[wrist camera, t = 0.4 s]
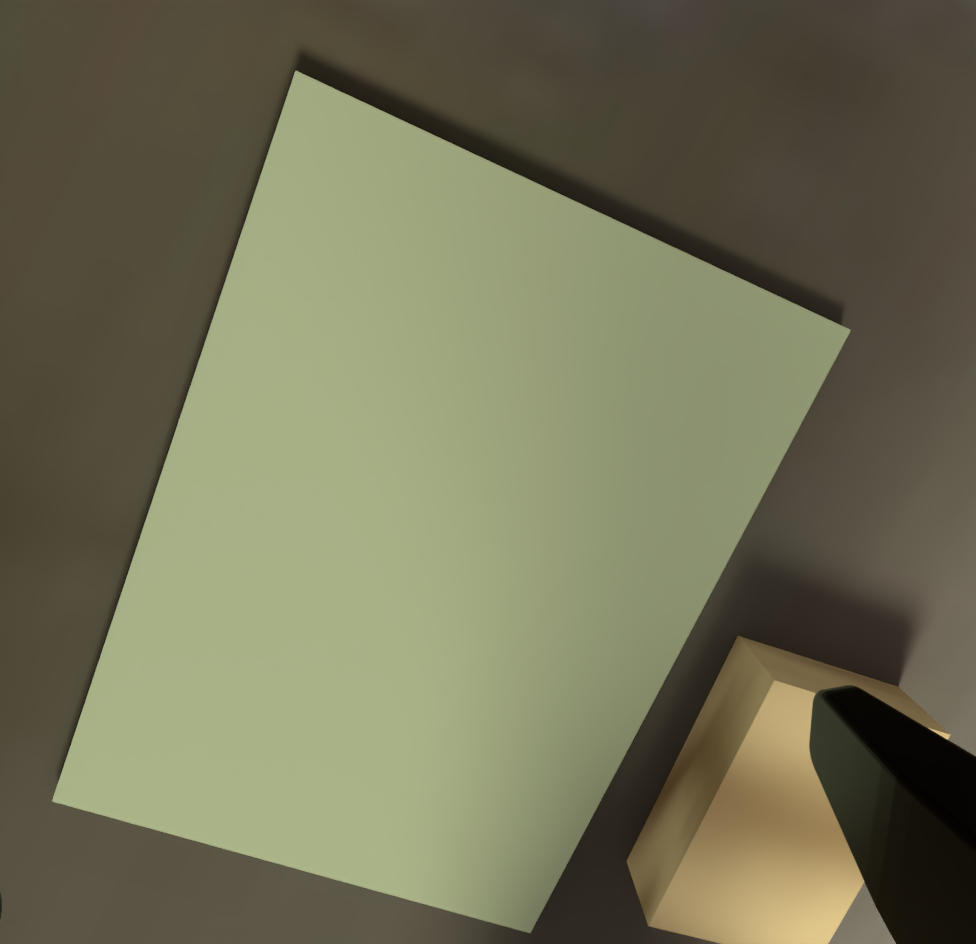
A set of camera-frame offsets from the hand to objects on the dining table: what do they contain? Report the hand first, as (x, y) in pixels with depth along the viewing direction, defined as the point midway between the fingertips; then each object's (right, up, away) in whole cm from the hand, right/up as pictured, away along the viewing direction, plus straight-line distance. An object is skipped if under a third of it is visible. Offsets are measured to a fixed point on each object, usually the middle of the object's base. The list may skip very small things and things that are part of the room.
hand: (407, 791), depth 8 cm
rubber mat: (-1, +1, +15) cm, 15 cm away
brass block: (+10, -7, +18) cm, 22 cm away
